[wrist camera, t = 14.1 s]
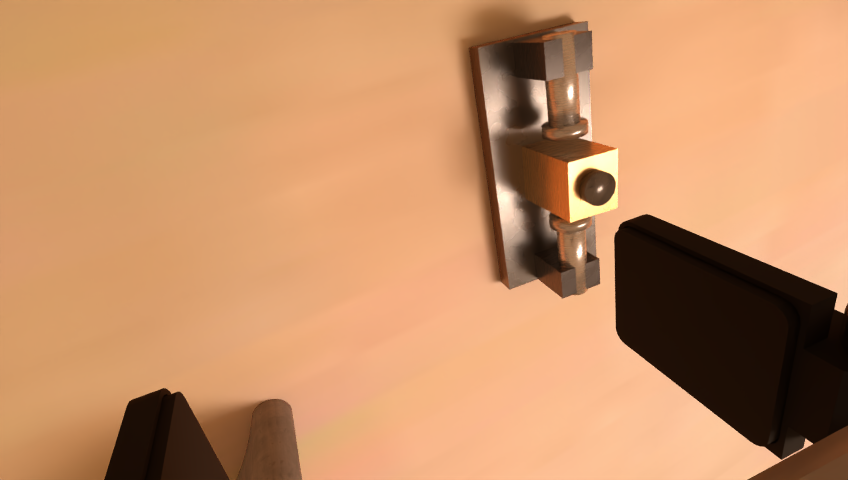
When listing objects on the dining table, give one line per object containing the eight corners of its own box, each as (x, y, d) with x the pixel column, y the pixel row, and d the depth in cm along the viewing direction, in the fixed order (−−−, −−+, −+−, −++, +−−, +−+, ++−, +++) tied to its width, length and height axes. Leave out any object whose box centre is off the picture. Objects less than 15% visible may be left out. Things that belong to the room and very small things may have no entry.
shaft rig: (468, 47, 35) (510, 48, 29) (575, 22, 37) (632, 18, 31) (501, 282, 43) (538, 315, 38) (586, 250, 45) (632, 278, 40)
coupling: (521, 146, 37) (575, 165, 31) (566, 134, 38) (626, 151, 32) (525, 198, 39) (576, 226, 33) (567, 186, 40) (624, 211, 34)
